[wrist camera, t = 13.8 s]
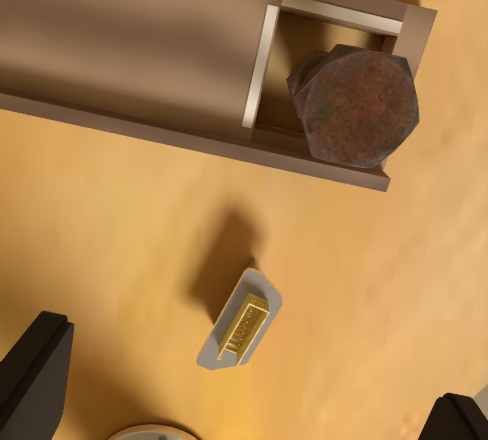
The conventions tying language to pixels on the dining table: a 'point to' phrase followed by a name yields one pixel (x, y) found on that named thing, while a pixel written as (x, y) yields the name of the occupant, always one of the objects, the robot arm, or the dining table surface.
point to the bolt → (354, 104)
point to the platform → (238, 305)
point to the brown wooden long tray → (182, 70)
